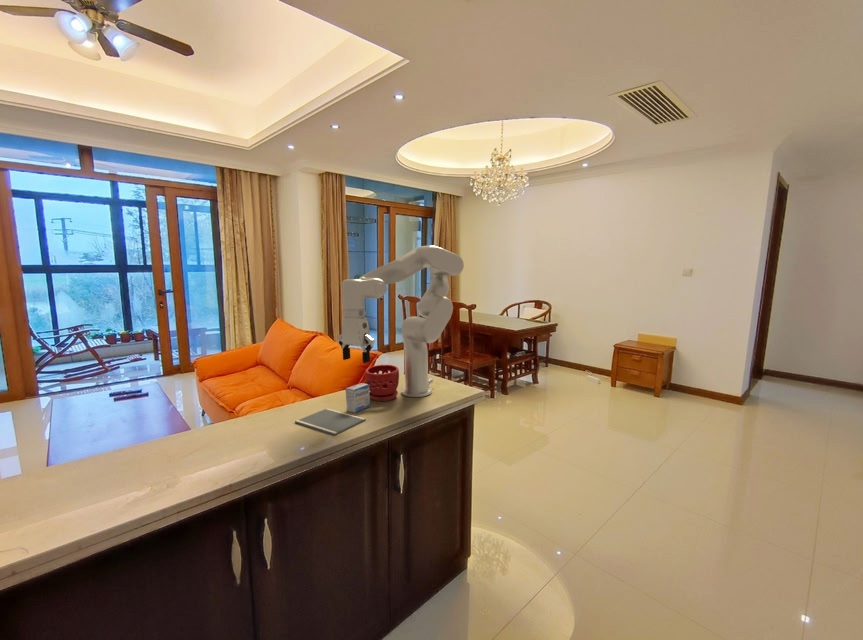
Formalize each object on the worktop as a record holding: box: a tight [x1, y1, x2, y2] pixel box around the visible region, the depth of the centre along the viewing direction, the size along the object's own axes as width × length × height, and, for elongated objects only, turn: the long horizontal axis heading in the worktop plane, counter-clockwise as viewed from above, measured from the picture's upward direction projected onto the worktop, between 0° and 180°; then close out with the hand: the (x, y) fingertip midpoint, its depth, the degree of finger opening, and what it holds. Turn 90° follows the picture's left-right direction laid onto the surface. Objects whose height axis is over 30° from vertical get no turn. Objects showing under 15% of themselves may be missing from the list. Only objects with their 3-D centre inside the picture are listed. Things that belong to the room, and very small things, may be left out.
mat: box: [294, 408, 366, 436], centre depth 132 cm, size 14×19×1 cm
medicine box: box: [345, 382, 371, 414], centre depth 143 cm, size 8×4×9 cm, turn 146°
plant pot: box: [365, 364, 400, 402], centre depth 154 cm, size 13×13×12 cm
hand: (356, 360), depth 141 cm, fingers open, 9 cm apart
